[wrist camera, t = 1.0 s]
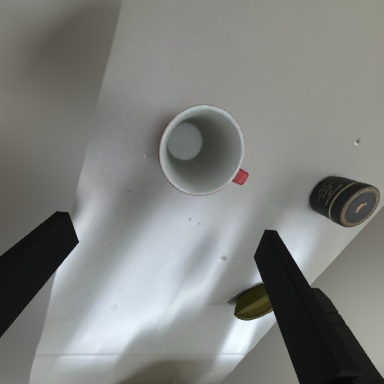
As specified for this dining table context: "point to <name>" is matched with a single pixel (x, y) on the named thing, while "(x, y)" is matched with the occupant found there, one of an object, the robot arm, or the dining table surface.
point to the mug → (202, 150)
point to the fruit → (253, 304)
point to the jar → (345, 200)
